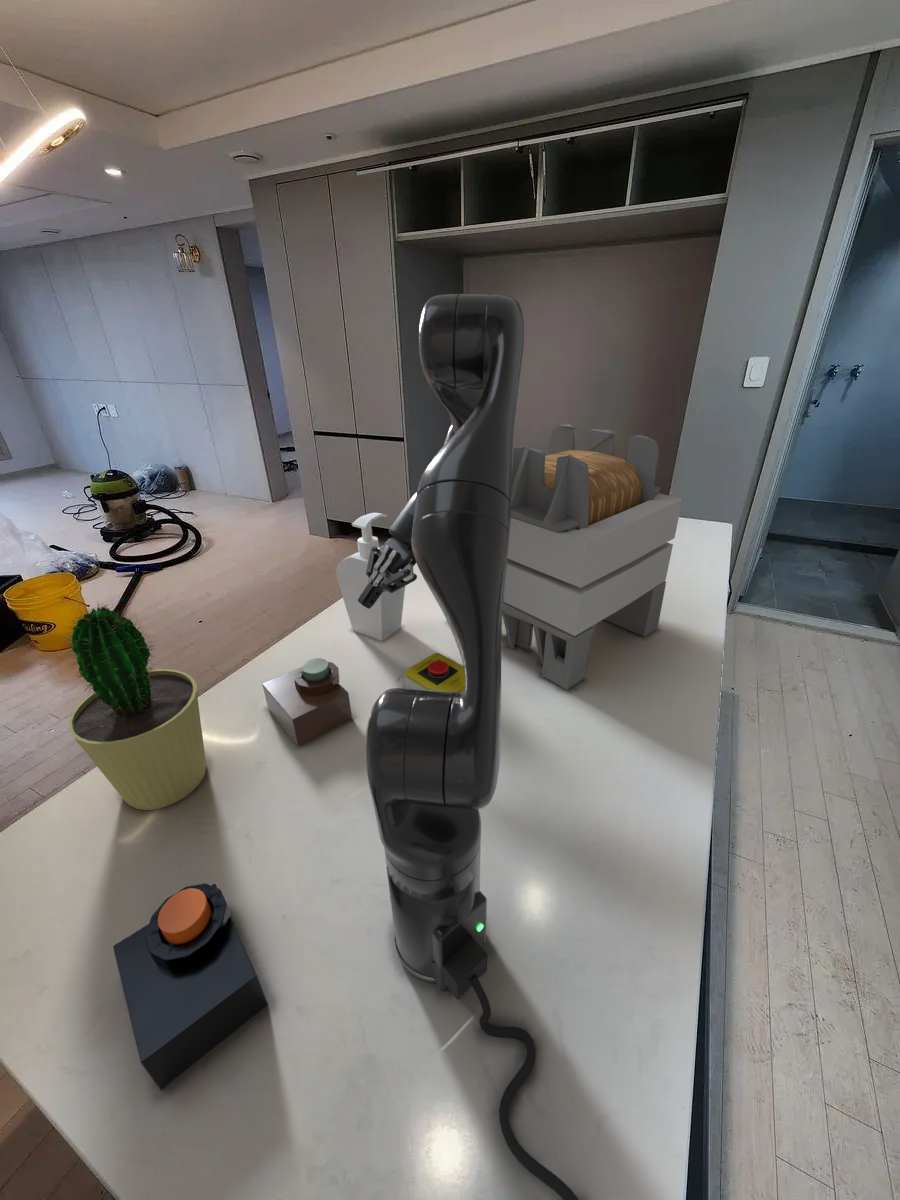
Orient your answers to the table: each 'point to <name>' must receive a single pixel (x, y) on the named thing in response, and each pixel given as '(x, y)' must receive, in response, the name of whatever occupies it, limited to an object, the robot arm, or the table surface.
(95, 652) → the potted cactus
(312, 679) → the knob back
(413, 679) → the emergency button
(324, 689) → the block back
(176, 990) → the black push button box
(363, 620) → the soap bottle
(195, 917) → the knob front
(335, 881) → the table surface
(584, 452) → the transformer
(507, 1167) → the table surface
